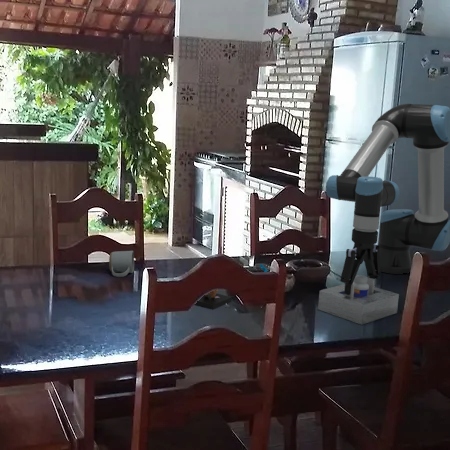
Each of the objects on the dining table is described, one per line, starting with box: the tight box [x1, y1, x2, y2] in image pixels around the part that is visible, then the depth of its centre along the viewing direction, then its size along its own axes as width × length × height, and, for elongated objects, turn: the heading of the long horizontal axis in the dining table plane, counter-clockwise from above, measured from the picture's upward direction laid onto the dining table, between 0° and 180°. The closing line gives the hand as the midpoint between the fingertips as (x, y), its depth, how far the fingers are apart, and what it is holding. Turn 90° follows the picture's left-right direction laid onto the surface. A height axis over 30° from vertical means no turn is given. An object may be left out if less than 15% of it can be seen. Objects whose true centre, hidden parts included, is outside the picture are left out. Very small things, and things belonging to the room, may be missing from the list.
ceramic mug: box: [108, 250, 135, 278], centre depth 222 cm, size 11×8×8 cm
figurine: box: [194, 289, 233, 311], centre depth 195 cm, size 10×10×12 cm
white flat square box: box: [317, 283, 400, 326], centre depth 194 cm, size 18×16×6 cm
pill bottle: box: [353, 274, 369, 299], centre depth 194 cm, size 5×5×10 cm
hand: (358, 301), depth 194 cm, fingers open, 9 cm apart
